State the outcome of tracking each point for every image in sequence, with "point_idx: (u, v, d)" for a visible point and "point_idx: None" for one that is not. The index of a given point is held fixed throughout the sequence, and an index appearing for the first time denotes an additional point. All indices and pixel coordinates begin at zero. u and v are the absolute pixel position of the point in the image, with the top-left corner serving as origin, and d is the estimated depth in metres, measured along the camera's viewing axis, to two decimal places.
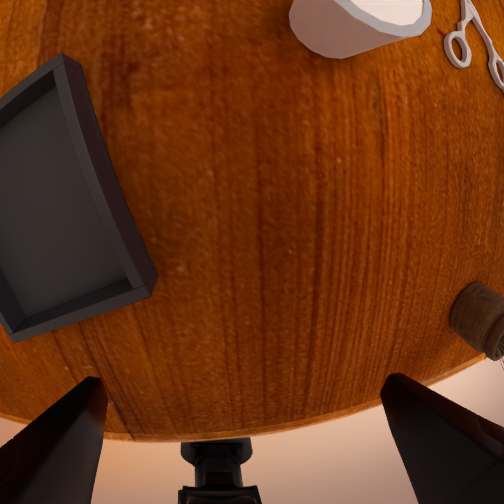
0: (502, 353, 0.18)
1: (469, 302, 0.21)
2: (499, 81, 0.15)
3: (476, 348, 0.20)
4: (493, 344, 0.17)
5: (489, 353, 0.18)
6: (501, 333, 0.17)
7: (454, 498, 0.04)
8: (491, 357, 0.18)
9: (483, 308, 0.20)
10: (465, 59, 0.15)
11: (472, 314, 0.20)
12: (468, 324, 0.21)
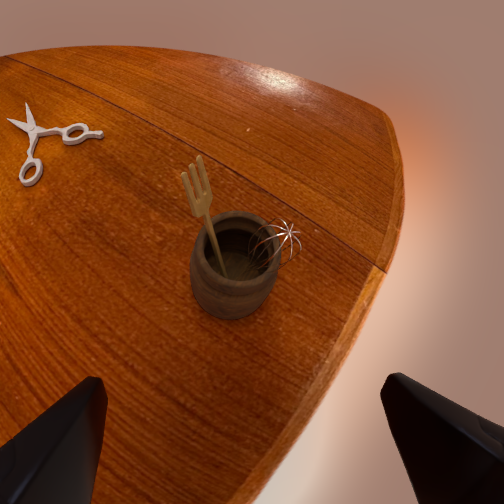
0: None
1: (191, 285, 0.21)
2: (75, 139, 0.26)
3: (238, 304, 0.18)
4: (211, 280, 0.16)
5: (230, 290, 0.16)
6: (198, 261, 0.16)
7: (454, 498, 0.04)
8: (240, 288, 0.16)
9: None
10: None
11: (194, 289, 0.19)
12: (202, 300, 0.19)
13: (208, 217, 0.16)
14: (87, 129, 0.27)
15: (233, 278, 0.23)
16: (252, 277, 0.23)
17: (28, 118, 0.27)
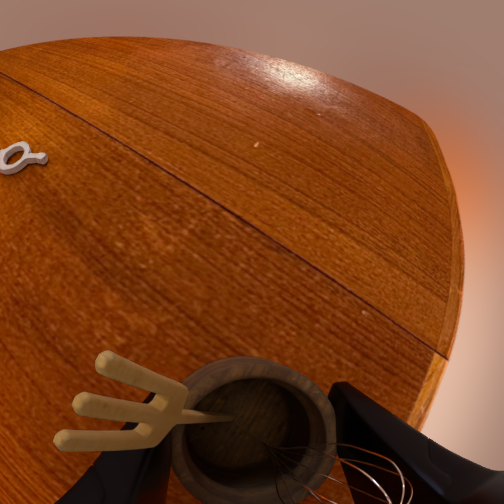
0: (323, 459, 0.07)
1: None
2: (12, 167, 0.16)
3: None
4: (205, 502, 0.06)
5: None
6: (176, 475, 0.06)
7: None
8: None
9: None
10: None
11: None
12: None
13: (184, 419, 0.06)
14: (28, 151, 0.17)
15: (241, 409, 0.13)
16: (271, 405, 0.13)
17: None
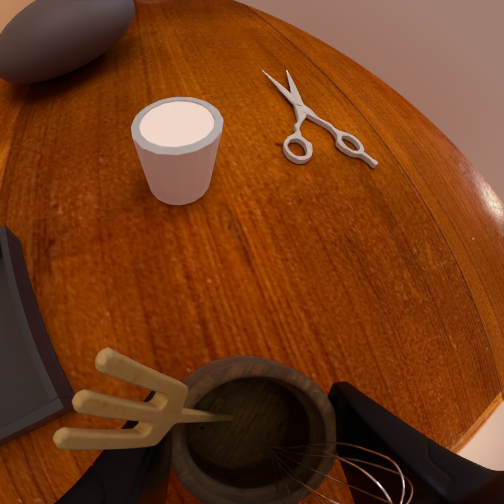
0: (323, 458, 0.07)
1: None
2: (351, 151, 0.30)
3: None
4: (204, 502, 0.06)
5: None
6: (176, 475, 0.06)
7: None
8: None
9: None
10: (306, 152, 0.28)
11: None
12: None
13: (184, 418, 0.06)
14: (362, 149, 0.30)
15: (241, 408, 0.13)
16: (271, 405, 0.13)
17: (292, 89, 0.34)
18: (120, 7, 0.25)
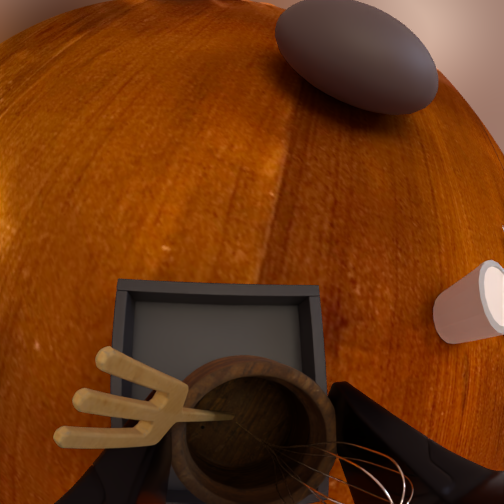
0: (323, 457, 0.07)
1: None
2: None
3: None
4: (205, 501, 0.06)
5: None
6: (176, 474, 0.06)
7: None
8: None
9: None
10: None
11: None
12: None
13: (184, 417, 0.06)
14: None
15: (241, 408, 0.13)
16: (271, 404, 0.13)
17: None
18: (436, 84, 0.27)
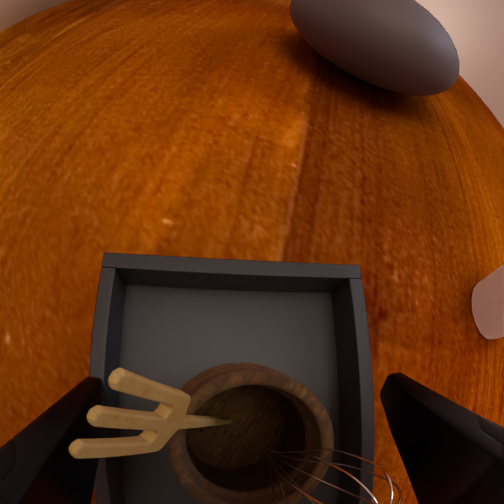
0: (317, 463, 0.07)
1: None
2: None
3: None
4: (203, 503, 0.06)
5: None
6: (176, 477, 0.06)
7: (454, 498, 0.04)
8: None
9: None
10: None
11: None
12: None
13: (186, 424, 0.06)
14: None
15: (239, 412, 0.13)
16: (268, 409, 0.13)
17: None
18: (458, 66, 0.23)
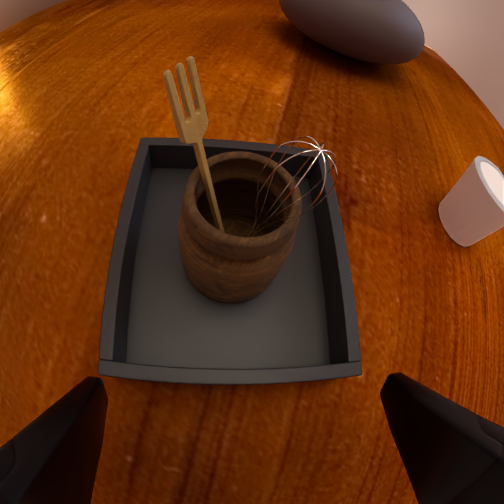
0: None
1: None
2: None
3: (242, 276, 0.13)
4: (204, 236, 0.11)
5: (231, 251, 0.11)
6: (187, 210, 0.11)
7: (454, 498, 0.04)
8: (246, 248, 0.11)
9: None
10: None
11: (183, 259, 0.14)
12: (194, 273, 0.14)
13: (202, 149, 0.11)
14: None
15: None
16: None
17: None
18: (422, 38, 0.28)
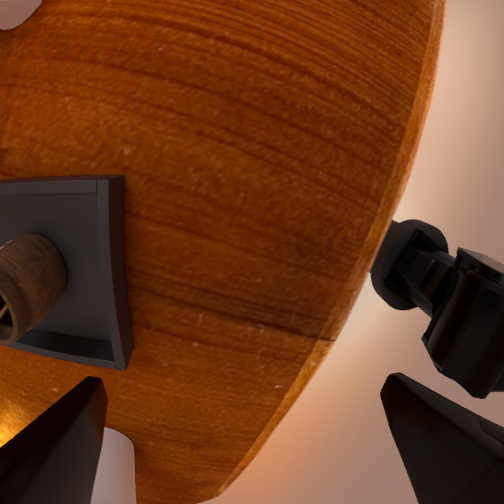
0: None
1: None
2: None
3: (36, 297, 0.14)
4: (19, 336, 0.12)
5: (21, 321, 0.12)
6: (10, 344, 0.12)
7: (454, 498, 0.04)
8: (16, 315, 0.12)
9: None
10: None
11: None
12: None
13: None
14: None
15: None
16: None
17: None
18: None
